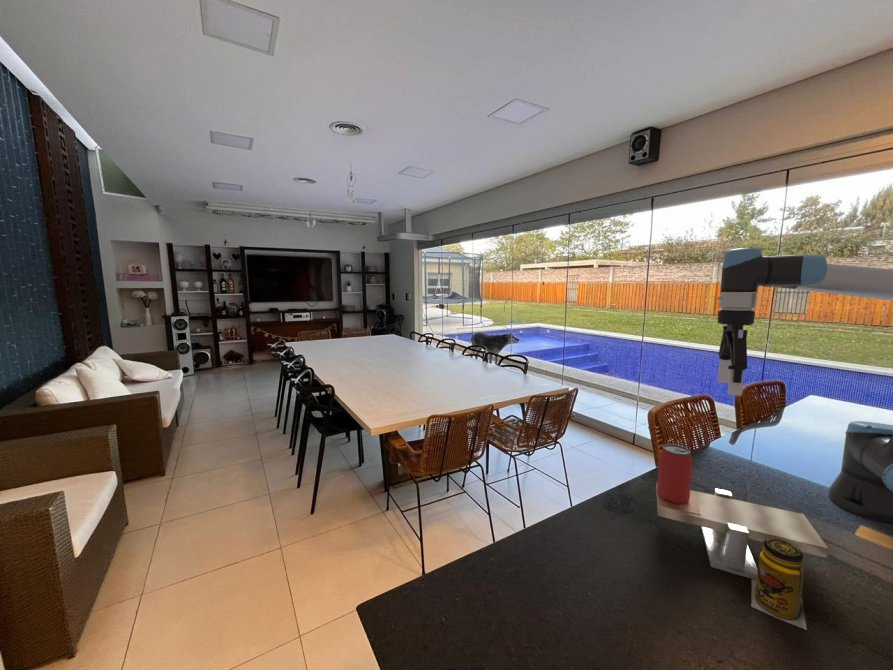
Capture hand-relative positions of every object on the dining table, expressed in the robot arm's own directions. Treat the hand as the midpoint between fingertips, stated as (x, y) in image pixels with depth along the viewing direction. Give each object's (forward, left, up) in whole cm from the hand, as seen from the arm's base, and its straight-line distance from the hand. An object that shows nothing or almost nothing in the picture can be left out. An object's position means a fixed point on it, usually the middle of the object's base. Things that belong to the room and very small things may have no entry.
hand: (728, 388), depth 97 cm
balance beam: (+2, +23, -24) cm, 33 cm away
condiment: (-3, +37, -32) cm, 49 cm away
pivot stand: (+2, +23, -32) cm, 39 cm away
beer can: (+13, +23, -23) cm, 35 cm away
